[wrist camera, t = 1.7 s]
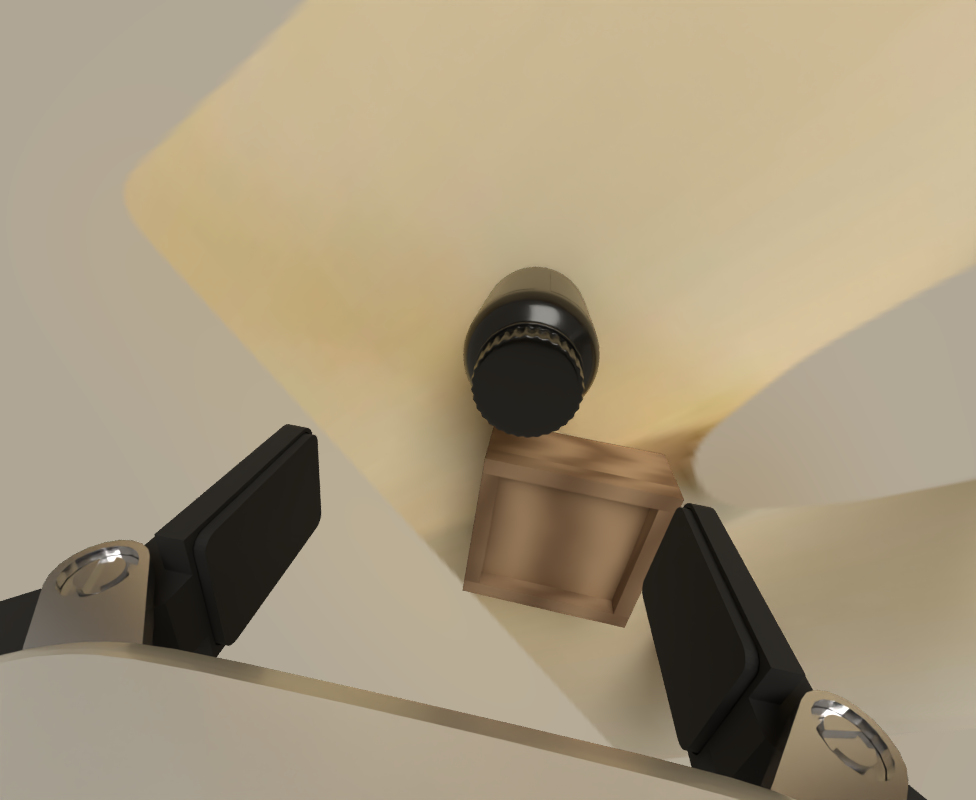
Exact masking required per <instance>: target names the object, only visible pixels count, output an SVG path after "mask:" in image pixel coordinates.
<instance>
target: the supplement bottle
mask: <svg viewBox="0 0 976 800" xmlns="http://www.w3.org/2000/svg"><path fill="white" fill-rule="evenodd" d="M463 355H464V366H465V370H466V374H467V377H468V379H469V382H470V384H471V385H472V387H471V390H472V392H473V394H474V395H473V400H474V401H475V403H476V404H477V409H478V410H479V411H480V412H481V414H482V417H484V418H485V419H487V420H488V422H489V424H491V425H493V426H495V427H496V428H497V429H498V430H501V431H504V432H505V433H507V434H513V435H515V436H517V437H521V436H523V437H526V438H530V437H540V436H541V435H548V434H550V433H551V432H552V431H557V430H559V428H560V427H561V426H564V425H566V424H567V422H568V420H570V419H572V418H573V417H574V413H575V412H576V411H577V410H578V409H579V404H580V402H581V401H582V400H583V397H584V396H585V394H586V393H587V392H588V390H589V389H590V387H591V385H592V384H593V381H594V379H595V377H596V374H597V371H598V366H599V344H598V339H597V335H596V332H595V329H594V326H593V323H592V320H591V318H590V315H589V312H588V310H587V307H586V304H585V301H584V299H583V297H582V295H581V293H580V291H579V290H578V288H577V287H576V286H575V285H574V283H573V282H572V281H571V280H569V279H568V278H567V277H566V276H564V275H563V274H561V273H559V272H557V271H555V270H552V269H548V268H543V267H529V268H524V269H520V270H518V271H515V272H513V273H511V274H509V275H508V276H506V277H505V278H504V279H502V280H501V281H500V282H499V283H498V284H497V285H496V286H495V288H494V289H493V290H492V292H491V293H490V295H489V296H488V298H487V299H486V301H485V303H484V304H483V306H482V307H481V309H480V311H479V312H478V314H477V315H476V317H475V319H474V320H473V322H472V324H471V326H470V328H469V331H468V333H467V336H466V340H465V344H464V354H463Z"/></svg>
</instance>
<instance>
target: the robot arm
mask: <svg viewBox="0 0 976 800" xmlns="http://www.w3.org/2000/svg"><path fill="white" fill-rule="evenodd" d="M318 461H319V460H318V440H317V437H316V436H315V435H312V432H311V430H310V429H309V428H305V427H300V426H295V425H290V424H286V425H285V426H283V427H282V428H281V429H279V430H278V431H277V432H276V433H275V434H273V435H272V436H271V437H270V438H269V439H267V440H266V441H265V442H264V443H263V444H261V445H260V446H259V447H258V448H257V449H255V450H254V451H253V452H252V453H251V454H250V455H248V456H247V457H246V458H245V459H244V460H242V461H241V462H240V463H239V464H238V465H236V466H235V467H234V468H233V469H232V470H231V471H229V472H228V473H227V474H226V475H225V476H223V477H222V478H221V479H220V480H219V481H217V482H216V483H215V484H214V485H213V486H211V487H210V488H209V489H208V490H207V491H206V492H204V493H203V494H202V495H201V496H200V497H198V498H197V499H196V500H195V501H194V502H193V503H191V504H190V505H189V506H188V507H186V508H185V509H184V510H183V511H182V512H181V513H179V514H178V515H177V516H176V517H175V518H174V519H172V520H171V521H170V522H169V523H167V524H166V525H165V526H164V527H163V528H162V529H160V530H159V531H158V532H157V533H156V534H155V537H154V538H153V539H151V540H150V541H149V542H148V543H147V544H145V545H143V544H142V543H139V542H136V541H133V540H117V541H110V542H104V543H101V544H98V545H95V546H92V547H89V548H87V549H84V550H82V551H80V552H78V553H76V554H74V555H72V556H71V557H69V558H68V559H66V560H65V561H63V562H62V563H60V564H59V565H58V566H57V567H56V568H55V569H54V570H53V571H52V572H51V573H50V574H49V575H48V577H47V579H46V581H45V582H44V584H43V587H42V589H39V590H36V591H33V592H29V593H26V594H22V595H20V596H16V597H13V598H10V599H6V600H3V601H0V800H927V799H925V798H924V797H923V796H922V795H920V794H919V793H918V792H917V791H915V790H914V789H913V788H912V787H911V786H910V785H908V776H907V768H906V765H905V763H904V761H903V759H902V757H901V754H900V752H899V751H898V749H897V748H896V746H895V745H894V743H893V742H892V741H891V739H890V738H889V736H888V735H887V734H886V733H885V732H884V731H883V730H882V729H881V727H880V726H879V725H878V724H877V723H876V722H875V721H874V720H873V719H872V718H871V717H869V716H868V715H867V714H866V713H864V712H863V711H862V710H861V709H860V708H858V707H857V706H855V705H854V704H852V703H851V702H849V701H847V700H846V699H844V698H842V697H840V696H838V695H835V694H833V693H830V692H828V691H820V690H813V689H812V688H811V686H810V684H809V682H808V680H807V679H806V677H805V673H804V671H803V669H802V667H801V666H800V664H799V662H798V660H797V658H796V657H795V655H794V653H793V651H792V649H791V648H790V646H789V644H788V642H787V640H786V638H785V637H784V635H783V633H782V631H781V629H780V628H779V626H778V624H777V622H776V620H775V618H774V617H773V615H772V613H771V611H770V609H769V608H768V606H767V604H766V602H765V600H764V598H763V597H762V595H761V593H760V591H759V589H758V588H757V586H756V584H755V582H754V580H753V578H752V577H751V575H750V573H749V571H748V569H747V568H746V566H745V564H744V562H743V560H742V558H741V557H740V555H739V553H738V551H737V549H736V548H735V546H734V544H733V542H732V540H731V538H730V537H729V535H728V533H727V531H726V529H725V528H724V526H723V524H722V522H721V520H720V518H719V517H718V515H717V513H716V511H715V510H714V509H713V508H711V507H706V506H701V505H696V504H691V503H687V504H686V505H684V507H683V508H681V507H679V508H677V509H676V511H675V513H674V515H673V517H672V519H671V521H670V524H669V526H668V528H667V530H666V532H665V535H664V537H663V539H662V541H661V543H660V546H659V548H658V550H657V552H656V554H655V557H654V559H653V561H652V563H651V565H650V568H649V570H648V572H647V574H646V577H645V579H644V581H643V586H642V594H643V599H644V603H645V607H646V611H647V615H648V619H649V624H650V628H651V632H652V636H653V640H654V644H655V648H656V652H657V656H658V660H659V664H660V668H661V673H662V677H663V681H664V685H665V689H666V693H667V697H668V701H669V705H670V709H671V713H672V717H673V721H674V726H675V730H676V734H677V738H678V741H679V744H680V746H681V748H682V749H683V750H686V751H688V755H689V758H690V762H691V766H692V767H688V766H684V765H680V764H676V763H672V762H668V761H664V760H661V759H657V758H653V757H649V756H645V755H641V754H637V753H632V752H628V751H624V750H620V749H615V748H611V747H607V746H603V745H598V744H594V743H590V742H585V741H581V740H577V739H573V738H569V737H565V736H560V735H556V734H552V733H547V732H543V731H539V730H535V729H531V728H526V727H522V726H518V725H514V724H510V723H505V722H501V721H496V720H492V719H488V718H484V717H479V716H475V715H470V714H466V713H462V712H458V711H453V710H449V709H445V708H440V707H436V706H431V705H427V704H423V703H419V702H414V701H410V700H405V699H401V698H397V697H392V696H388V695H384V694H379V693H375V692H371V691H366V690H361V689H357V688H353V687H349V686H344V685H340V684H335V683H330V682H326V681H322V680H317V679H313V678H308V677H304V676H300V675H295V674H291V673H286V672H281V671H277V670H273V669H268V668H264V667H259V666H255V665H251V664H246V663H240V662H236V661H231V660H226V659H221V658H216V657H217V656H218V655H219V653H220V652H221V650H222V649H223V648H224V646H225V645H228V646H229V645H232V644H233V643H234V642H235V641H236V640H237V638H238V637H239V636H240V634H241V633H242V631H243V630H244V629H245V627H246V626H247V624H248V623H249V622H250V620H251V619H252V617H253V616H254V615H255V613H256V612H257V610H258V609H259V608H260V606H261V605H262V603H263V602H264V601H265V599H266V598H267V596H268V595H269V593H270V592H271V591H272V589H273V588H274V586H275V585H276V584H277V582H278V581H279V580H280V578H281V577H282V575H283V574H284V573H285V571H286V570H287V568H288V567H289V566H290V564H291V563H292V561H293V560H294V559H295V557H296V556H297V554H298V553H299V552H300V550H301V549H302V547H303V546H304V545H305V543H306V542H307V540H308V539H309V537H310V536H311V535H312V533H313V532H314V530H315V529H316V528H317V526H318V524H319V521H320V518H321V499H320V480H319V462H318Z"/></svg>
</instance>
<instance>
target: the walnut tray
mask: <svg viewBox="0 0 976 800" xmlns="http://www.w3.org/2000/svg"><path fill="white" fill-rule="evenodd" d="M683 501H684V498H683V496H682V494H681V491H680V489H679V487H678V484H677V482H676V480H675V478H674V475H673V473H672V471H671V468H670V466H669V464H668V461H667V459H666V457H665V455H663V454H658V453H653V452H648V451H643V450H638V449H633V448H628V447H623V446H618V445H613V444H608V443H603V442H598V441H593V440H588V439H583V438H578V437H573V436H568V435H563V434H558V433H553V432H551V433H550V434H548V435H541V436H540V437H530V438H526V437H523V436H521V437H517V436H515V435H513V434H507V433H505V432H504V431H501V430H498V429H497V428H496V427H495V426H494V428H493V431H492V435H491V439H490V442H489V446H488V450H487V453H486V457H485V462H484V468H483V473H482V479H481V485H480V491H479V497H478V503H477V509H476V515H475V521H474V527H473V532H472V538H471V544H470V550H469V556H468V562H467V568H466V574H465V580H464V585H463V591H468V592H472V593H476V594H481V595H485V596H489V597H494V598H498V599H502V600H507V601H511V602H515V603H520V604H524V605H528V606H533V607H537V608H541V609H546V610H550V611H554V612H559V613H563V614H567V615H572V616H576V617H580V618H585V619H589V620H593V621H598V622H602V623H606V624H611V625H615V626H619V627H624V628H625V626H626V623H627V621H628V619H629V617H630V615H631V613H632V611H633V608H634V606H635V604H636V602H637V600H638V598H639V595H640V593H641V591H642V586H643V581H644V579H645V577H646V574H647V572H648V570H649V568H650V565H651V563H652V561H653V559H654V557H655V554H656V552H657V550H658V548H659V546H660V543H661V541H662V539H663V537H664V535H665V532H666V530H667V528H668V526H669V524H670V521H671V519H672V517H673V515H674V513H675V511H676V509H677V508H679V507H681V505H682V503H683Z"/></svg>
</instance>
